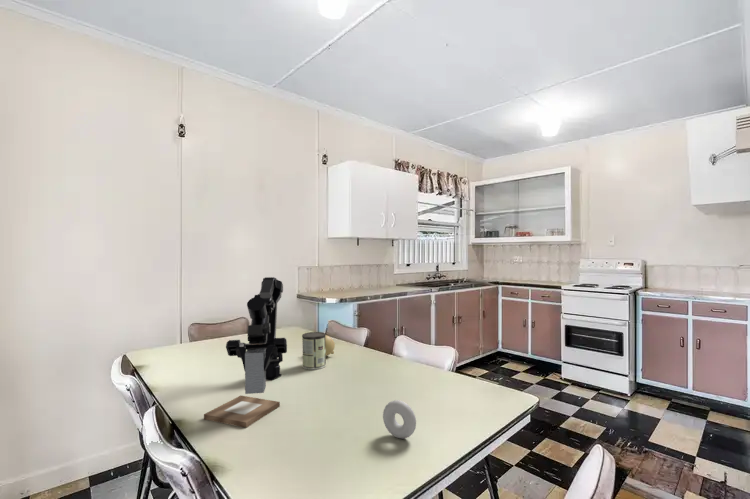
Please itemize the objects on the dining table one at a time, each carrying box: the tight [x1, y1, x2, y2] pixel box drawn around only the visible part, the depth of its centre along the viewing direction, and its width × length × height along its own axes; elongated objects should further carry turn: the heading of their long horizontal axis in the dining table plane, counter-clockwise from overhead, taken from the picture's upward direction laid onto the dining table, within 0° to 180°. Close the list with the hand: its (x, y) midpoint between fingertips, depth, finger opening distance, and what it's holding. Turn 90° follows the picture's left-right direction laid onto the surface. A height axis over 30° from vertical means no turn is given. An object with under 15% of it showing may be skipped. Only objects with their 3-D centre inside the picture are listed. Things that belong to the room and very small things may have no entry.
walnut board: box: [203, 395, 281, 429], centre depth 119 cm, size 16×16×2 cm
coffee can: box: [301, 331, 327, 370], centre depth 167 cm, size 10×10×14 cm
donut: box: [382, 399, 417, 440], centre depth 102 cm, size 10×4×10 cm, turn 55°
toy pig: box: [325, 335, 336, 357], centre depth 183 cm, size 10×12×11 cm
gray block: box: [244, 348, 267, 395], centre depth 120 cm, size 6×6×12 cm
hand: (254, 370), depth 118 cm, fingers closed on gray block, 5 cm apart
